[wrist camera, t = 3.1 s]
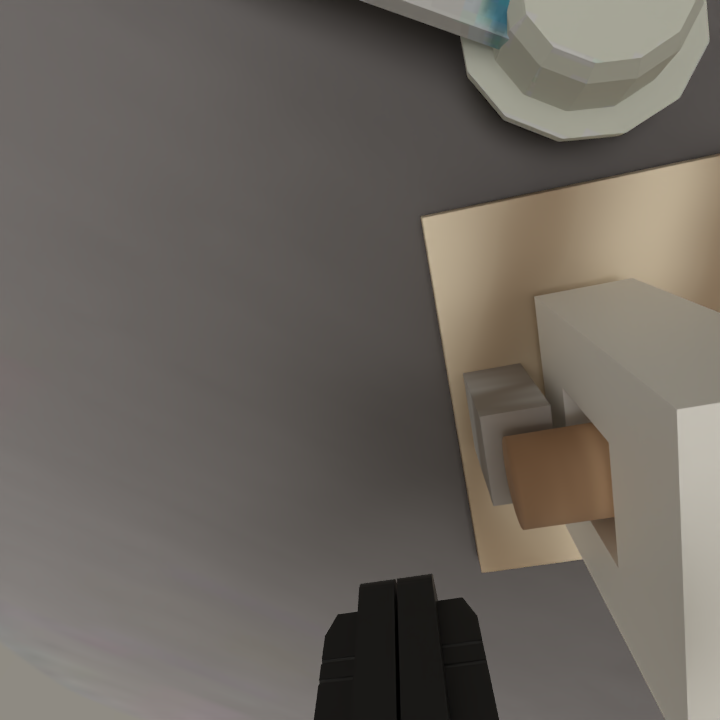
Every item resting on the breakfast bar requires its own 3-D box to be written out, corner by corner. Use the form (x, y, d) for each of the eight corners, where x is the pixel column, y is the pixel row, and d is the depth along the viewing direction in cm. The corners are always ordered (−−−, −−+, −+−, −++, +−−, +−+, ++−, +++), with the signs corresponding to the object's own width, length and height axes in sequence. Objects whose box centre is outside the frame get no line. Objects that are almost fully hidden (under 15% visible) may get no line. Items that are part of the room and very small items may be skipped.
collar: (632, 278, 17) (880, 376, 8) (645, 499, 19) (849, 753, 11) (534, 296, 17) (676, 409, 9) (558, 512, 20) (689, 767, 11)
